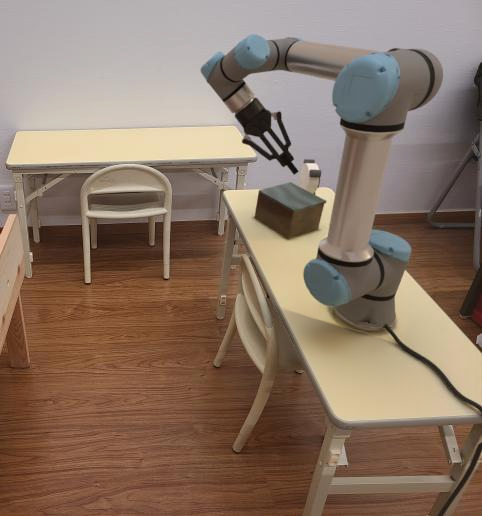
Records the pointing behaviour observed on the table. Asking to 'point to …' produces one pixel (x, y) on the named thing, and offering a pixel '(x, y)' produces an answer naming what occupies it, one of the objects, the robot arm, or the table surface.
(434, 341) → the table surface
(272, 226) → the chest
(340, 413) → the table surface
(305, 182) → the panda figurine
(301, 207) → the lid
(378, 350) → the table surface
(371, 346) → the table surface
